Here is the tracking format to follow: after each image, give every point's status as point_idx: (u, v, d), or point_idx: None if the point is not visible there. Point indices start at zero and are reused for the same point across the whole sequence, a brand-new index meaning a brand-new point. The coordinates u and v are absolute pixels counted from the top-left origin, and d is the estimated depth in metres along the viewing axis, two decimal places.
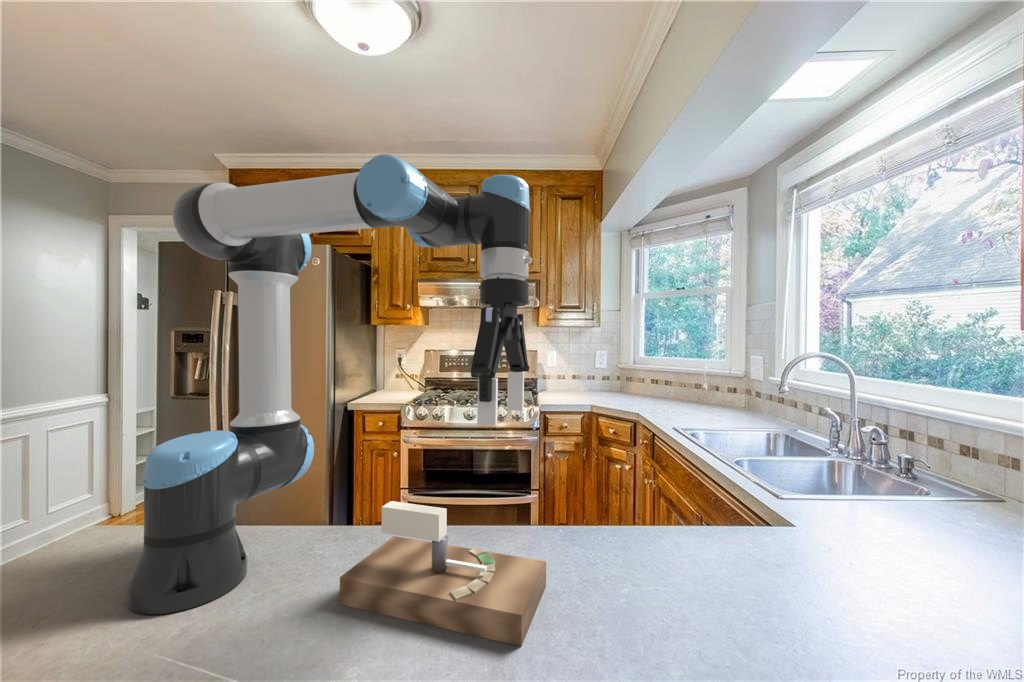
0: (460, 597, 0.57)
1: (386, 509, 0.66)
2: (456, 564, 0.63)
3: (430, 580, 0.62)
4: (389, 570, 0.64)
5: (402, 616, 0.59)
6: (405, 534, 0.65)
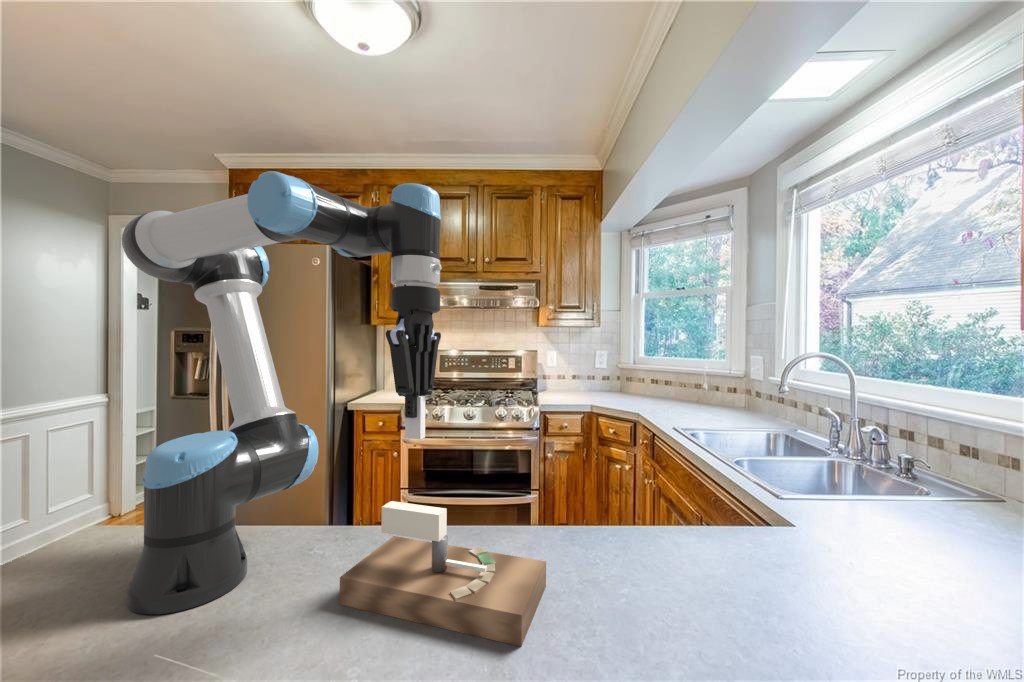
0: (460, 597, 0.57)
1: (386, 509, 0.66)
2: (456, 564, 0.63)
3: (430, 580, 0.62)
4: (389, 570, 0.64)
5: (402, 616, 0.59)
6: (405, 534, 0.65)
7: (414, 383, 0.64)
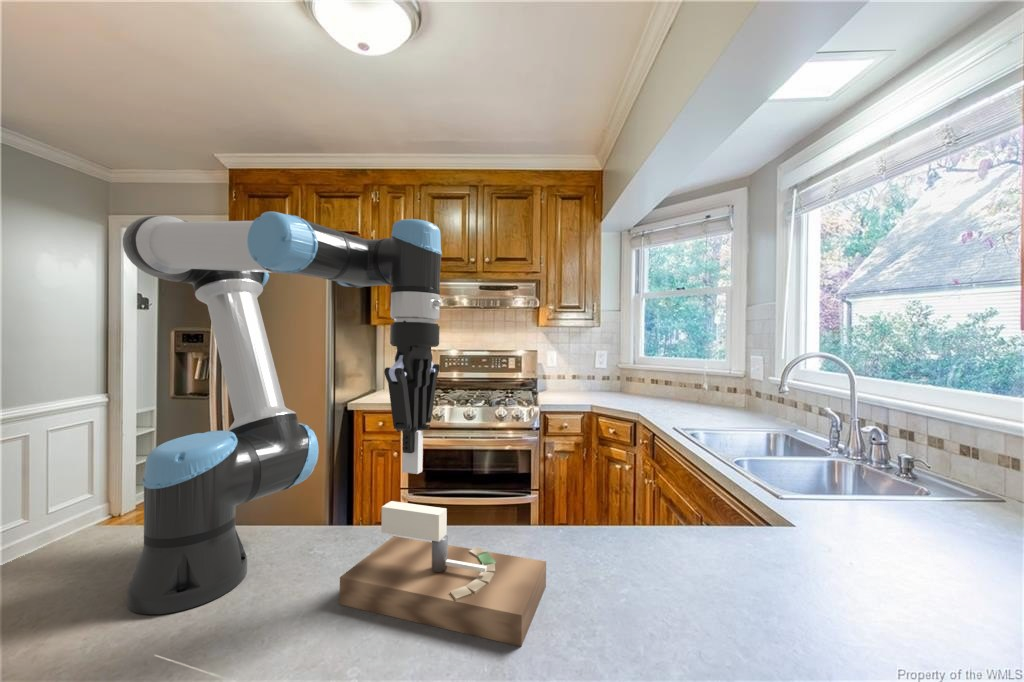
0: (460, 597, 0.57)
1: (386, 509, 0.66)
2: (456, 564, 0.63)
3: (430, 580, 0.62)
4: (389, 570, 0.64)
5: (402, 616, 0.59)
6: (405, 534, 0.65)
7: (412, 419, 0.64)
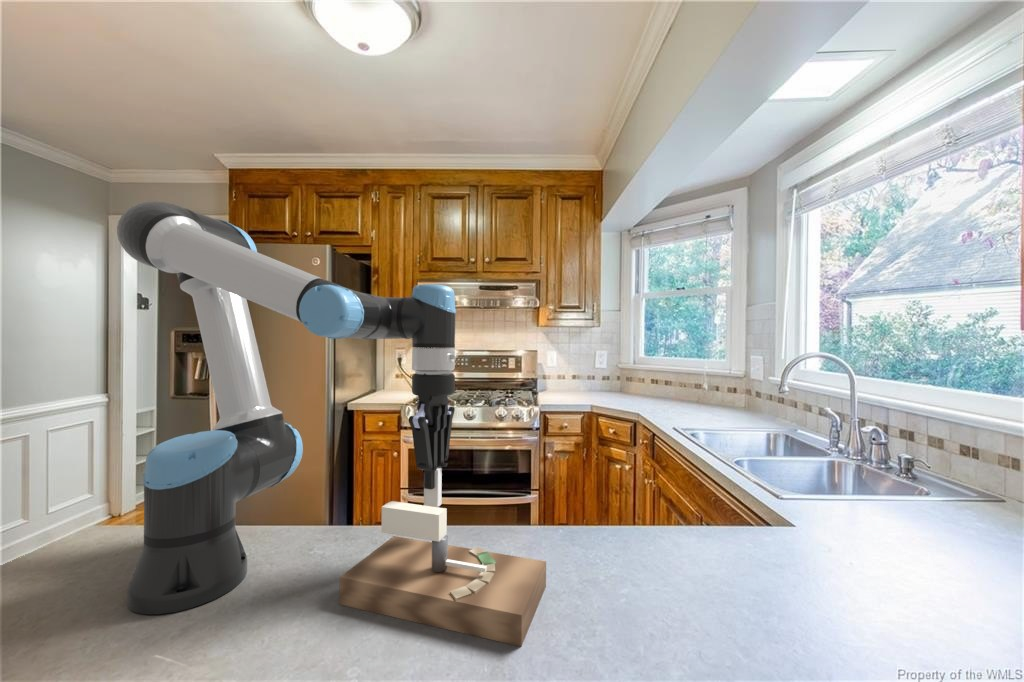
0: (460, 597, 0.57)
1: (386, 509, 0.66)
2: (456, 564, 0.63)
3: (430, 580, 0.62)
4: (389, 570, 0.64)
5: (402, 616, 0.59)
6: (405, 534, 0.65)
7: (432, 459, 0.73)
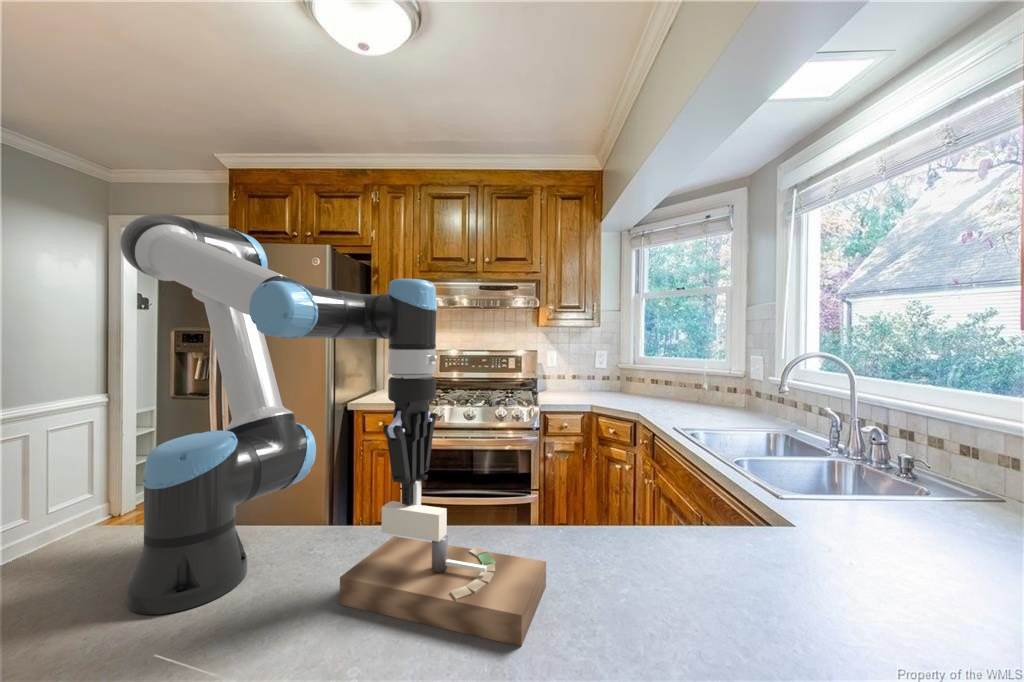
0: (460, 597, 0.57)
1: (386, 509, 0.66)
2: (456, 564, 0.63)
3: (430, 580, 0.62)
4: (389, 570, 0.64)
5: (402, 616, 0.59)
6: (405, 534, 0.65)
7: (410, 471, 0.66)
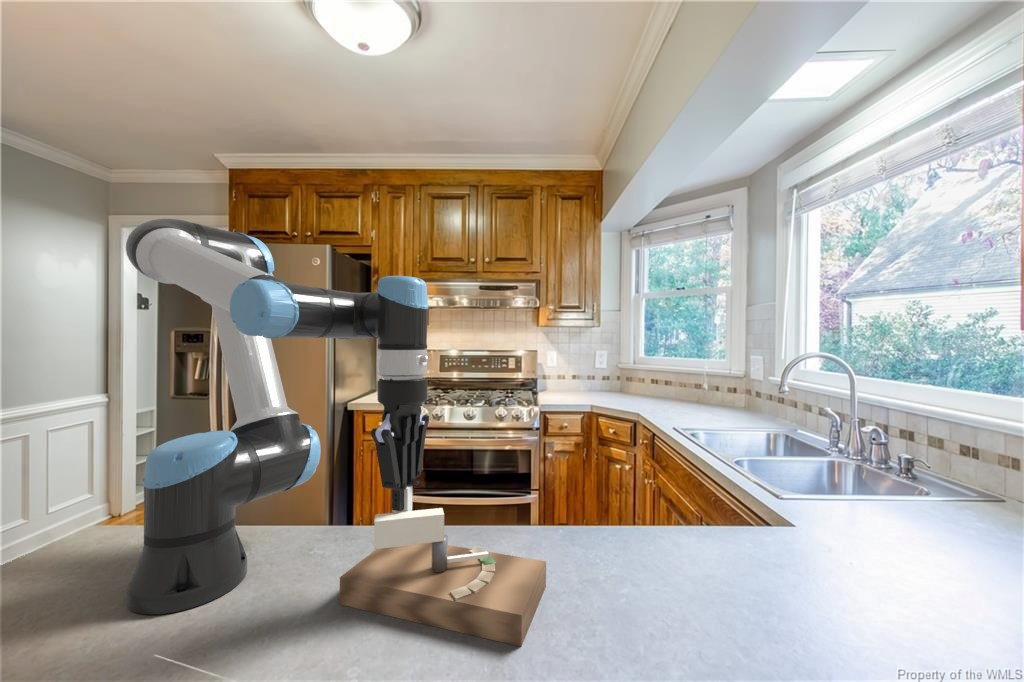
0: (460, 597, 0.57)
1: (380, 522, 0.61)
2: (459, 558, 0.65)
3: (430, 580, 0.62)
4: (389, 570, 0.64)
5: (402, 616, 0.59)
6: (405, 543, 0.62)
7: (401, 477, 0.63)
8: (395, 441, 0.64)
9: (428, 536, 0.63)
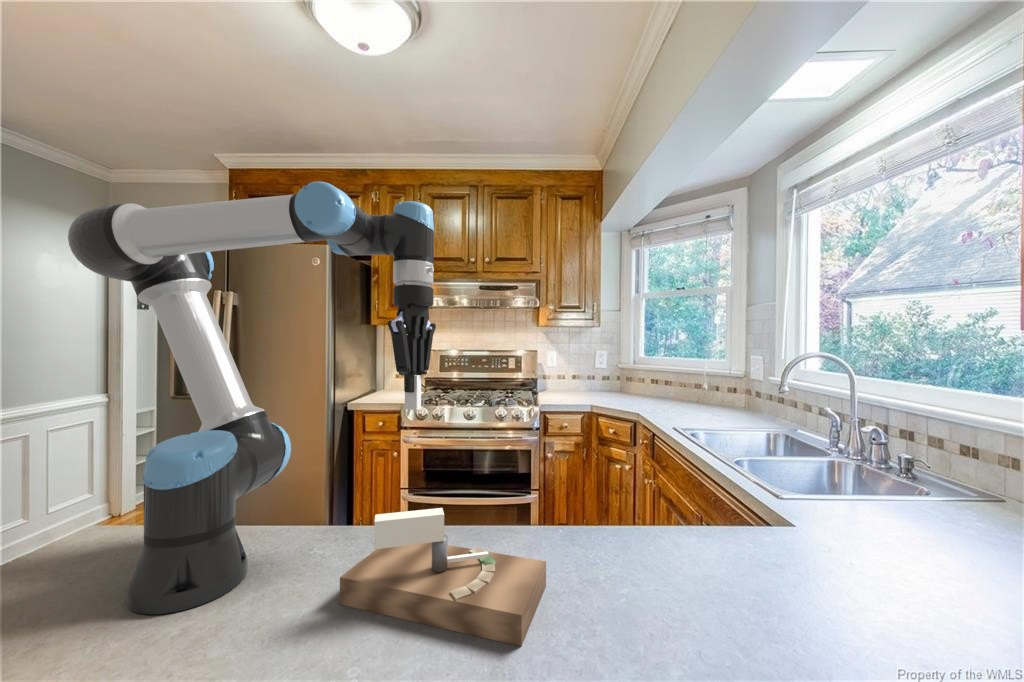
0: (460, 597, 0.57)
1: (381, 522, 0.61)
2: (459, 558, 0.65)
3: (430, 580, 0.62)
4: (389, 570, 0.64)
5: (402, 616, 0.59)
6: (405, 543, 0.62)
7: (411, 364, 0.78)
8: (407, 335, 0.79)
9: (428, 536, 0.63)
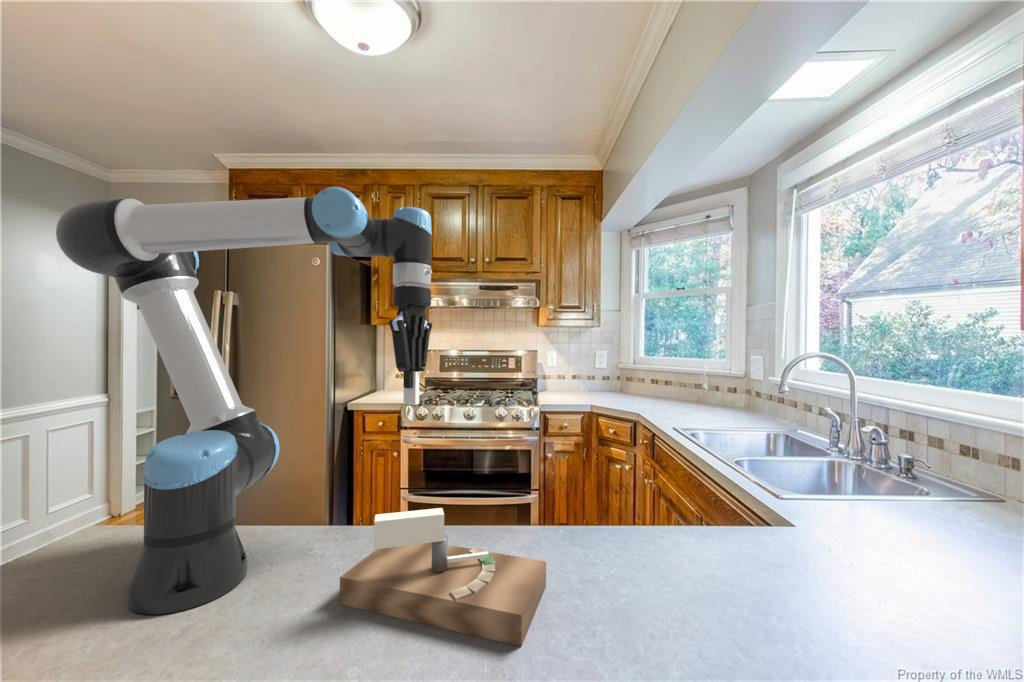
0: (460, 597, 0.57)
1: (381, 522, 0.61)
2: (459, 558, 0.65)
3: (430, 580, 0.62)
4: (389, 570, 0.64)
5: (402, 616, 0.59)
6: (405, 543, 0.62)
7: (410, 361, 0.83)
8: (406, 334, 0.83)
9: (428, 536, 0.63)
